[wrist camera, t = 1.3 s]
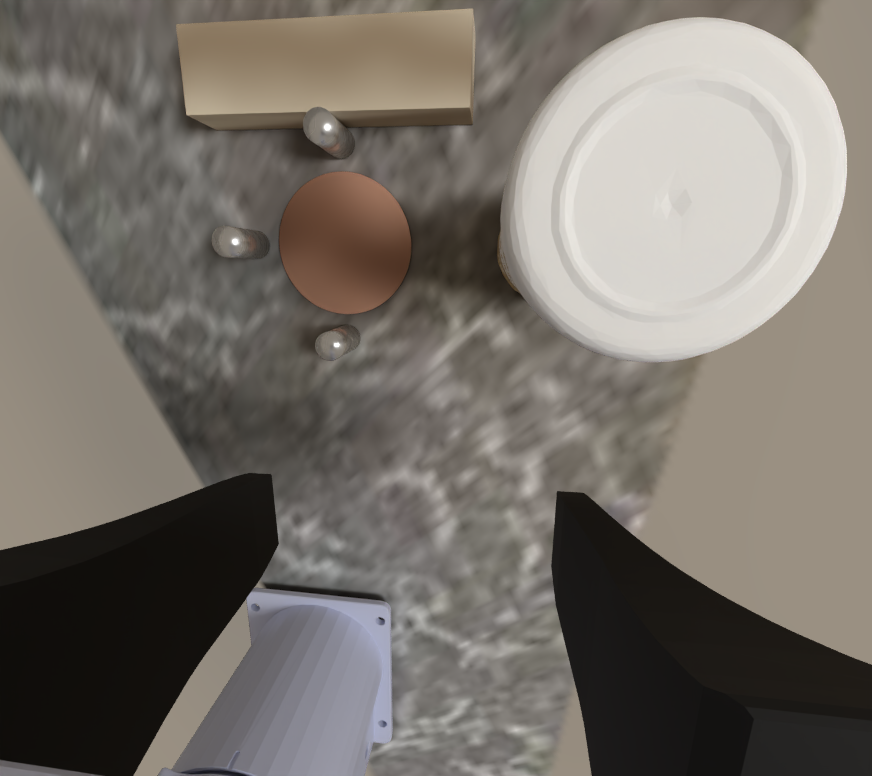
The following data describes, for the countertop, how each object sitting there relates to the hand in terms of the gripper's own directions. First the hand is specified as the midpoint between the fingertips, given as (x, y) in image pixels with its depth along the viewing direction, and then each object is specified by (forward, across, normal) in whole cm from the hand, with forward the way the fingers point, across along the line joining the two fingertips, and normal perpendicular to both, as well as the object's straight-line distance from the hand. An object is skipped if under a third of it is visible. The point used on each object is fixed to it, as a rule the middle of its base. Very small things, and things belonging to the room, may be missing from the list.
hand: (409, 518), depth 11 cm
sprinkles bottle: (+11, -4, -7) cm, 13 cm away
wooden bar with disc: (+10, +5, -7) cm, 13 cm away
